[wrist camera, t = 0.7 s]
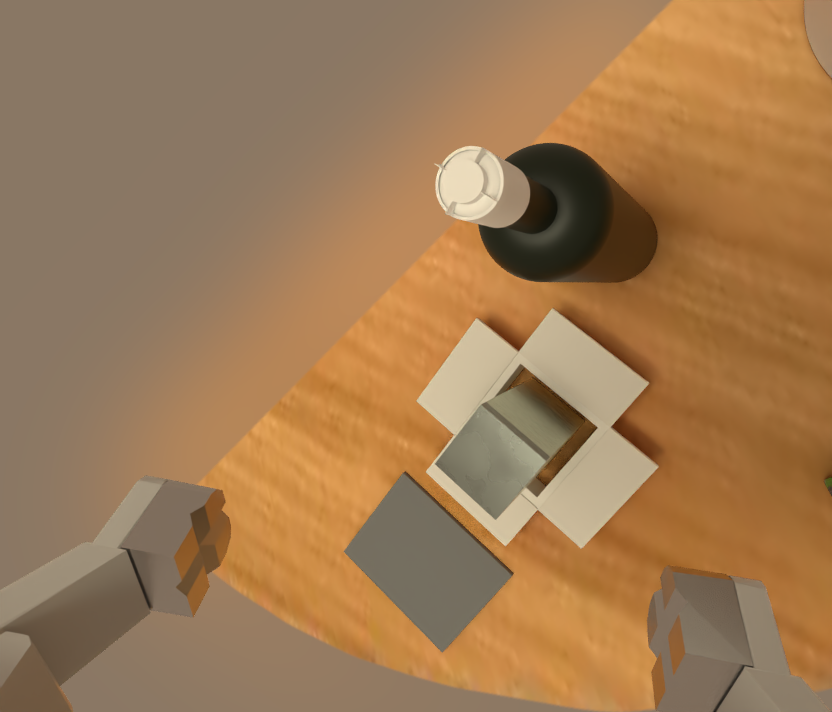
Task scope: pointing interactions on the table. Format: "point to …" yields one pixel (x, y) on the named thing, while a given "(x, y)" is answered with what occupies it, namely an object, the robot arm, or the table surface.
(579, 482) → the carton
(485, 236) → the wine bottle
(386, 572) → the mat
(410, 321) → the table surface
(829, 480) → the syrup box
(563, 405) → the tea tin
